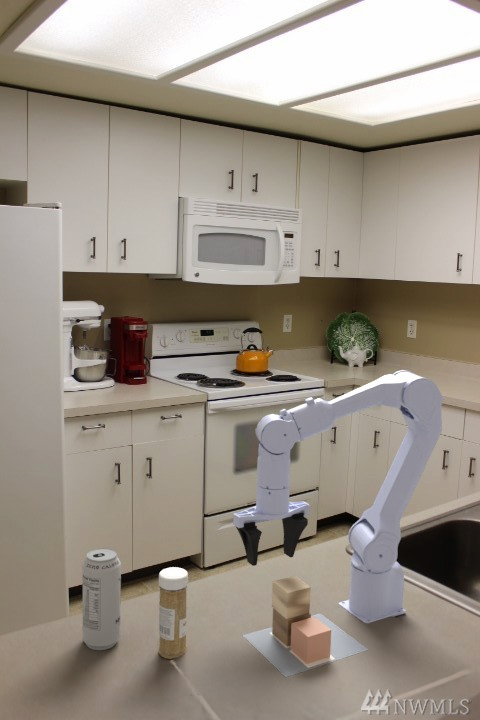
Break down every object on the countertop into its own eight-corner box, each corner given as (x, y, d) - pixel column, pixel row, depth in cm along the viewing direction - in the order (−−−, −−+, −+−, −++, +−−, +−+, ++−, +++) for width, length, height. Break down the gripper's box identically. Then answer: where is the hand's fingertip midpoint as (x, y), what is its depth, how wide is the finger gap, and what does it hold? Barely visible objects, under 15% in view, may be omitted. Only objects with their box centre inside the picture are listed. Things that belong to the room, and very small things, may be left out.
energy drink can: (125, 646, 108) (126, 557, 106) (89, 656, 105) (89, 565, 103) (112, 628, 113) (113, 543, 111) (77, 637, 110) (77, 550, 108)
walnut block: (294, 626, 114) (295, 602, 114) (309, 639, 110) (310, 614, 110) (272, 633, 112) (273, 608, 111) (287, 646, 108) (288, 620, 108)
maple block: (294, 600, 114) (295, 575, 113) (309, 612, 110) (310, 587, 110) (271, 606, 112) (272, 581, 111) (286, 619, 108) (287, 592, 107)
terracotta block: (313, 642, 110) (314, 616, 109) (330, 656, 106) (331, 629, 105) (290, 649, 107) (291, 623, 107) (306, 664, 103) (308, 636, 103)
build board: (320, 615, 119) (320, 613, 119) (368, 652, 108) (368, 649, 108) (242, 638, 111) (242, 635, 111) (285, 680, 100) (285, 677, 100)
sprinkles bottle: (191, 655, 106) (193, 574, 104) (166, 663, 103) (167, 581, 102) (178, 641, 110) (179, 563, 108) (152, 649, 107) (153, 569, 105)
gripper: (294, 472, 123) (292, 543, 125) (225, 483, 116) (223, 558, 118) (317, 483, 117) (314, 557, 119) (245, 495, 110) (243, 574, 112)
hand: (270, 559), depth 118 cm, fingers open, 7 cm apart
